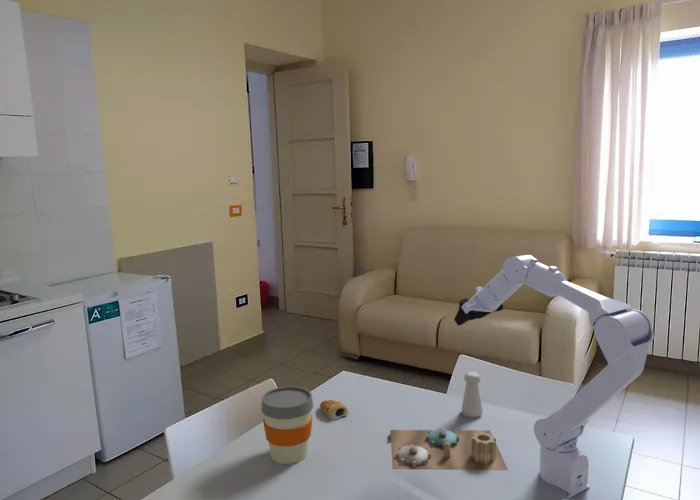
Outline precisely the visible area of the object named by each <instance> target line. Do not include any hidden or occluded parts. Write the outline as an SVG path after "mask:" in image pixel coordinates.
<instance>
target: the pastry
mask: <svg viewBox="0 0 700 500" xmlns="http://www.w3.org/2000/svg"><path fill="white" fill-rule="evenodd" d="M319 407H320V410H321V412H322V414H323V415H324V416H325V417H326V418H327V419H328V418H329V419H328V420H329V421H334V420H335V421H336V420H339V419H340V418H344V417H345V416H347V415H348V413H349V409H348V407H347V406H346V405H345V404H344V403H342V402H341V401H340V400H339V401H338V400H337V401H336V400H333V399H329V400H327V399H326V400H323V401H322V402H320V404H319ZM343 416H344V417H343Z"/></svg>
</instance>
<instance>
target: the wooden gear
mask: <svg viewBox="0 0 700 500" xmlns="http://www.w3.org/2000/svg"><path fill="white" fill-rule="evenodd" d="M496 442H497V438H496V436H493V434H492V433H491V434H490V433H488V434H486V433H483V432H479V433H474V434H473V437H471V458H474V459H475V462H481V463H484V464H487V463H489V462H492V463H493V462H494V458H495V451H496V445H497V443H496Z"/></svg>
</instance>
